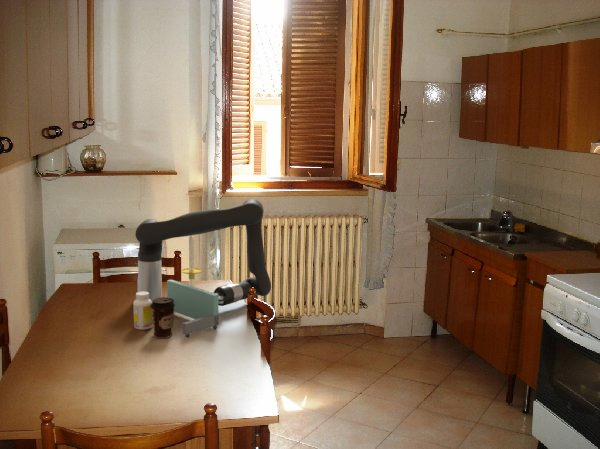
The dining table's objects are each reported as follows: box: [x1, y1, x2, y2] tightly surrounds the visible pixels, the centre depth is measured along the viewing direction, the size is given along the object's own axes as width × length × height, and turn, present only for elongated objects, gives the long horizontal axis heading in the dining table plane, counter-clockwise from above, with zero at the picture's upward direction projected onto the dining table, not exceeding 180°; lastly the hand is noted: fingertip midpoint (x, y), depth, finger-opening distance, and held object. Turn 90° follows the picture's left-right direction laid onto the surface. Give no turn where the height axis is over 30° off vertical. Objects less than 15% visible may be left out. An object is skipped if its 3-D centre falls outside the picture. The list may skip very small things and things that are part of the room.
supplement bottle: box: [132, 291, 153, 331], centre depth 247 cm, size 7×7×13 cm
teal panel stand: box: [166, 279, 219, 339], centre depth 250 cm, size 28×15×13 cm, turn 48°
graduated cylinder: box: [181, 235, 202, 287], centre depth 289 cm, size 10×10×27 cm
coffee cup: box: [150, 296, 175, 339], centre depth 239 cm, size 9×8×13 cm
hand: (194, 303), depth 256 cm, fingers closed
